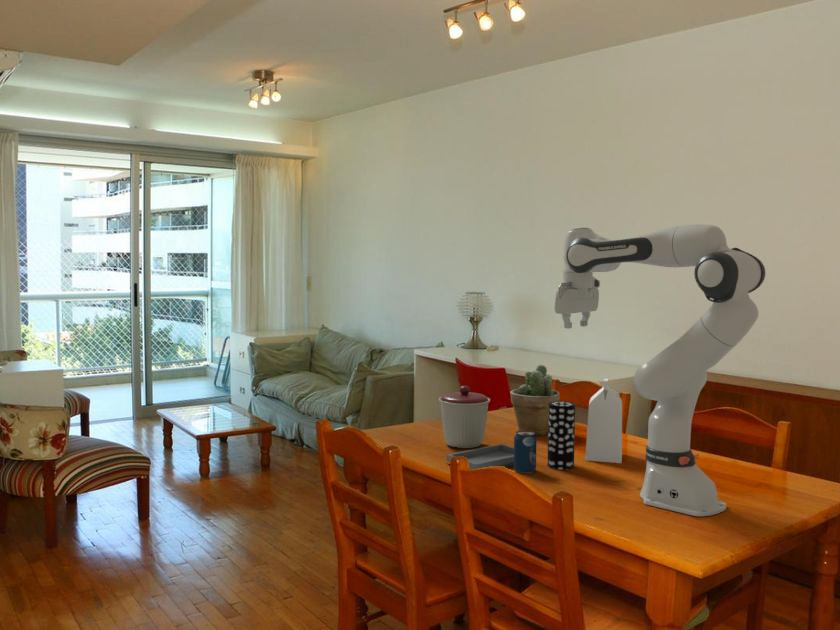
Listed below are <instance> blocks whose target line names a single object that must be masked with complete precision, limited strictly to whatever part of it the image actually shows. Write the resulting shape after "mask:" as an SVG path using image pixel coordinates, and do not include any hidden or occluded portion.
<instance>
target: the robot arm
mask: <svg viewBox="0 0 840 630" xmlns="http://www.w3.org/2000/svg"><path fill="white" fill-rule="evenodd" d="M727 243H728V242H727V237H726V235H725V233H724V231H723V230H722V229H721V228H720V227H718V226H716V225H713V224H685V225H678V226H673V227H669V228H664V229H661V230H658V231H657V230H656V231H653V232H649V233H646V234H642V235H639V236H633V237H630V238H624V239H617V240H613V239H612V240H611V239H609V238H606V237H603V236H601V235H600V234H597V233H595V231H594V229H591V228H589V227H578V228H573V229H570V230H569V231H567V232H566V235H565V238H564V244H563V257H562V258H563V262H564V267H563V270H562V282H561V283H560V285H559V286H558V288H557V290H556V293H555V299H554V311H555V312H554V313H555V314H559V315H561V318H562V320H563V323H564V324H563V327H564V329H566V330H567V329H568V330H569V329H573V328H572V324H573V322H571V315H572V314H578V313H581V316H582V317H581V320H580V324H579V325H580V327H587V326H588V323H589V322H588V321H589V319H590V316H591V312H596V311H597V310H598V307H599V300H600V292H599V291H600V290H599V288H600V287H601V281H600V280H599V279H597V278H596V277H595V276H593V274H594V273H609V272H611V271H615V270H616V269H618V268H619V266H620V265H621V263H632V264H633V263H635V264H643V265H651V266H656V267H665V268H689V267H695V268H694V271H693V272H694V279H695V281H696V284H697V286H698V287H699V289H700V290H701V291H702V293H704V295H705V297H706V299H707V300H708V301H709V302H712V305H710V307H709V309H707V311H705V313H703V315H702V316H701V317H699V319H697V321H696V322H695V323H693V324H692V326H691V327H690V328H689V329H688V330H687V331H686V332H685V333H684V334H683V335H682V336H680V337H679V338H678V339H676V340H675V341H674V342H673V343H671V344H670V345H668V346H667V347H665V348H664V349H663V350H662V351H660V352H659V353H658V354H656V355H655V356H654V357H652V359H650V360H649V361H647V362H645V363H644V364H643V365H641V366H639V367H638V368H637V369H636V371H635V372H634V376H633V385H634V389H635V390H636V392H637V393H638V394H639V396H641V397H642V398H644V399H646V400H651V401H657V402H656V404H655V407H654V409H653V411H652V412H651V414H650V415H649V417H648V423H647V425H648V428H647V430H648V431H647V445H646V446H645V462H646V464H645V465H646V466H645V467H646V468H645V474H644V480H643V483H642V487H641V490H640V492H639V496H640V498H641V499H642V500H643V504H645V505H647V506H652V507H655V508H660V509H664V510H669V511H673V512H677V513H681V514H684V515H689V516H694V517H707V516H708V517H709V516H714V515H716V514H721V512H724V511H725V510H727V503H726V502H723V500H722V501H721V500H720V499H719V498H718V491H717V487H716V484H715V482H714V481H713V480H712V479H710V478H709V476H707V474H706V473H705V472H703V470H702V469H701V468H699V466H697V464H696V460H697V459H699V458H700V457H699V456H700V454H699V453H698V454H693V451H692V448H691V433H692V422H693V421H692V420H693V416H694V412H695V409H696V408H695V407H696V405H697V402H698V398H699V396H700V393H701V390H703V387H705V385H706V383H707V380H708V370H710V369H711V368H712V367H715V366H716V365H717V364H718V363H719V362H720V361H721V360H722V359H724V357H725V356H726V355H727V354H728V353H730V351H732V350H733V348H735V347H736V346H737V345H738V343H740V342H741V341H742V340H743V339H744V337H745V336H746V335H747V334H748V332H749V331H750V330H751V329H752V328H753V326H754V325H755V323H756V321H757V319H758V318H759V310H758V309H759V308H758V306H757V305H756V304H755V302H754V301H753V300H752V299H751V298H750V295H749V294H750V293H752V292H754V291H756V290H757V289H759V288H760V287H761V286H762V284H763V283H764V280H765V278H766V269H765V265H764V263H763V262H762V261H761V260H760V258H758V257H757V256H755V255H753V254H751V253H748V252H746V251H745V250H742V249H740V248H738V247H733V248H730V247H729V246H728V244H727ZM718 499H719V500H718Z"/></svg>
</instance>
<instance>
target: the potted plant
mask: <svg viewBox="0 0 840 630" xmlns="http://www.w3.org/2000/svg"><path fill="white" fill-rule="evenodd" d="M547 372H548V370H547V367H546V366H545V365H543V364H538V365H537V366H536V368H535V369H534V370H533V371H531V372H530V371H526V372H525V377H524V378H525V379H524V381H525V384H524V383H523V384H522V385H520V386H518V388H515V389H512V390H511V391H509V392H510V402H511V404H512V406H513V410H514V415H515V420H516V423H517V429H518V431H532V432H534V433H535V435H536V437H540V436H539V435H543V436H548V435H547V434H548V410H549V403H550V402H556V401H560V395H561V393H560V391H558V390H556V389H552V382H553V377H552V375H550V374H547Z"/></svg>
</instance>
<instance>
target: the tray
mask: <svg viewBox="0 0 840 630" xmlns="http://www.w3.org/2000/svg"><path fill="white" fill-rule="evenodd" d="M453 456H464V457H466V458H467V459H468V460H469V461H468V462H469V468H470V469H477V468H483V467H489V466H505V468H510V467H514V466H513V465H514V446H510V445H507V444H504V443H499V444H495V445H494V444H493V445H487V446H483V447H479V448H478V447H477V448H472V449H469V450H463V451H458V452H453V453H449V454H446V462H447V461H448V462H449V460H450V458H451V457H453ZM509 466H510V467H509Z"/></svg>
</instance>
